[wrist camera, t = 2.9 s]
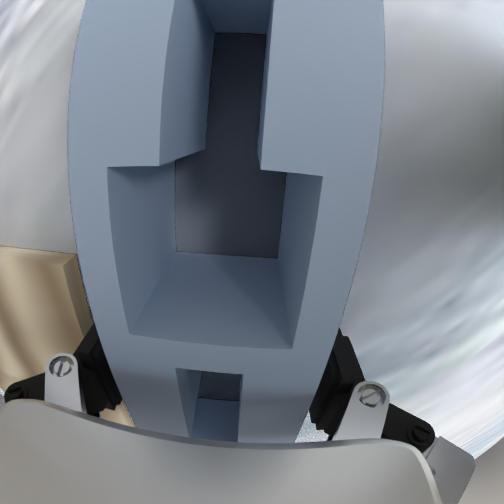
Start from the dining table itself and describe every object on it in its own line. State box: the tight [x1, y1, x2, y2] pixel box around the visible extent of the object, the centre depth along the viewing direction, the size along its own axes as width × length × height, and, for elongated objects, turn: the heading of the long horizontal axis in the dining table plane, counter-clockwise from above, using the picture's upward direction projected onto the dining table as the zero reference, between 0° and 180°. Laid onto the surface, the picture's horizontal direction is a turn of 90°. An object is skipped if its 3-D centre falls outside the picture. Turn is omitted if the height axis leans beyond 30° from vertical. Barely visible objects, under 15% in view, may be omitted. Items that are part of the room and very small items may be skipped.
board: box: [0, 246, 135, 427], centre depth 14 cm, size 16×32×7 cm, turn 176°
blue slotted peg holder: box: [67, 0, 385, 443], centre depth 8 cm, size 6×22×5 cm, turn 176°
